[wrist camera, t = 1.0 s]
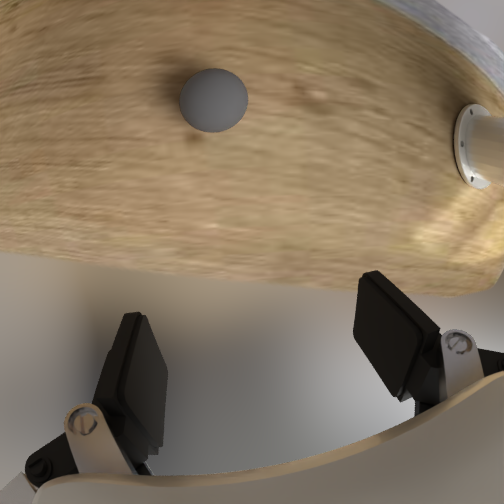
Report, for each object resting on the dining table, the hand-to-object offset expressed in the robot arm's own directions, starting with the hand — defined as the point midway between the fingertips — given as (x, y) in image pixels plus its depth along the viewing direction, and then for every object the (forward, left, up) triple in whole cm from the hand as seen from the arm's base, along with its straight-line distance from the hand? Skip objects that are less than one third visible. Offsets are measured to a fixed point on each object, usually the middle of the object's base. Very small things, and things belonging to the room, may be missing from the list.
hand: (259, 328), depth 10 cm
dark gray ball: (0, -10, -15) cm, 18 cm away
